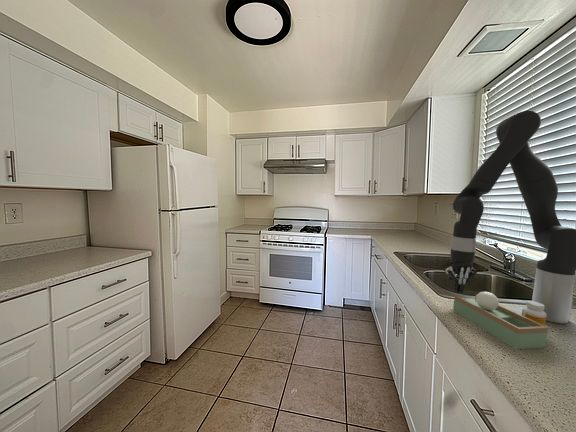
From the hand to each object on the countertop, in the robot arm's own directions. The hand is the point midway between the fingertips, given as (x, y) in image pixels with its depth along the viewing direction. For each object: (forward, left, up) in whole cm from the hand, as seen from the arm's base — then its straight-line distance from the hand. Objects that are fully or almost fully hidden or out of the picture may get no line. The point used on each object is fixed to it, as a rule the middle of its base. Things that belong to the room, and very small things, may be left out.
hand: (458, 292), depth 92 cm
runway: (0, +14, -6) cm, 15 cm away
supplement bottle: (-10, +18, -6) cm, 21 cm away
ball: (0, +11, +2) cm, 12 cm away
